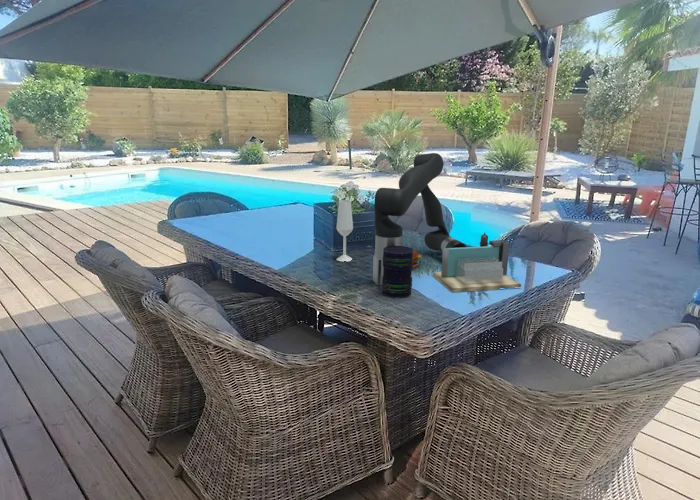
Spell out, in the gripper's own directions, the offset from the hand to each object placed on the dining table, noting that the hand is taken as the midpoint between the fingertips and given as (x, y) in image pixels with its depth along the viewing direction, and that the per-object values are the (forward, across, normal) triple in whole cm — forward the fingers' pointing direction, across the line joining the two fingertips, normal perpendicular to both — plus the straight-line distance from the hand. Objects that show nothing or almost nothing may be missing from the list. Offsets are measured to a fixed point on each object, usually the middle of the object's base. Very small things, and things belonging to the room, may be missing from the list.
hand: (474, 261), depth 183 cm
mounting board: (+4, -1, +6) cm, 8 cm away
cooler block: (+4, +1, +5) cm, 7 cm away
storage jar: (+9, -32, +6) cm, 34 cm away
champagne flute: (-34, -40, +7) cm, 53 cm away
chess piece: (-20, +14, +7) cm, 26 cm away
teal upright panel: (+1, -2, +5) cm, 5 cm away
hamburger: (-20, -18, +7) cm, 28 cm away
